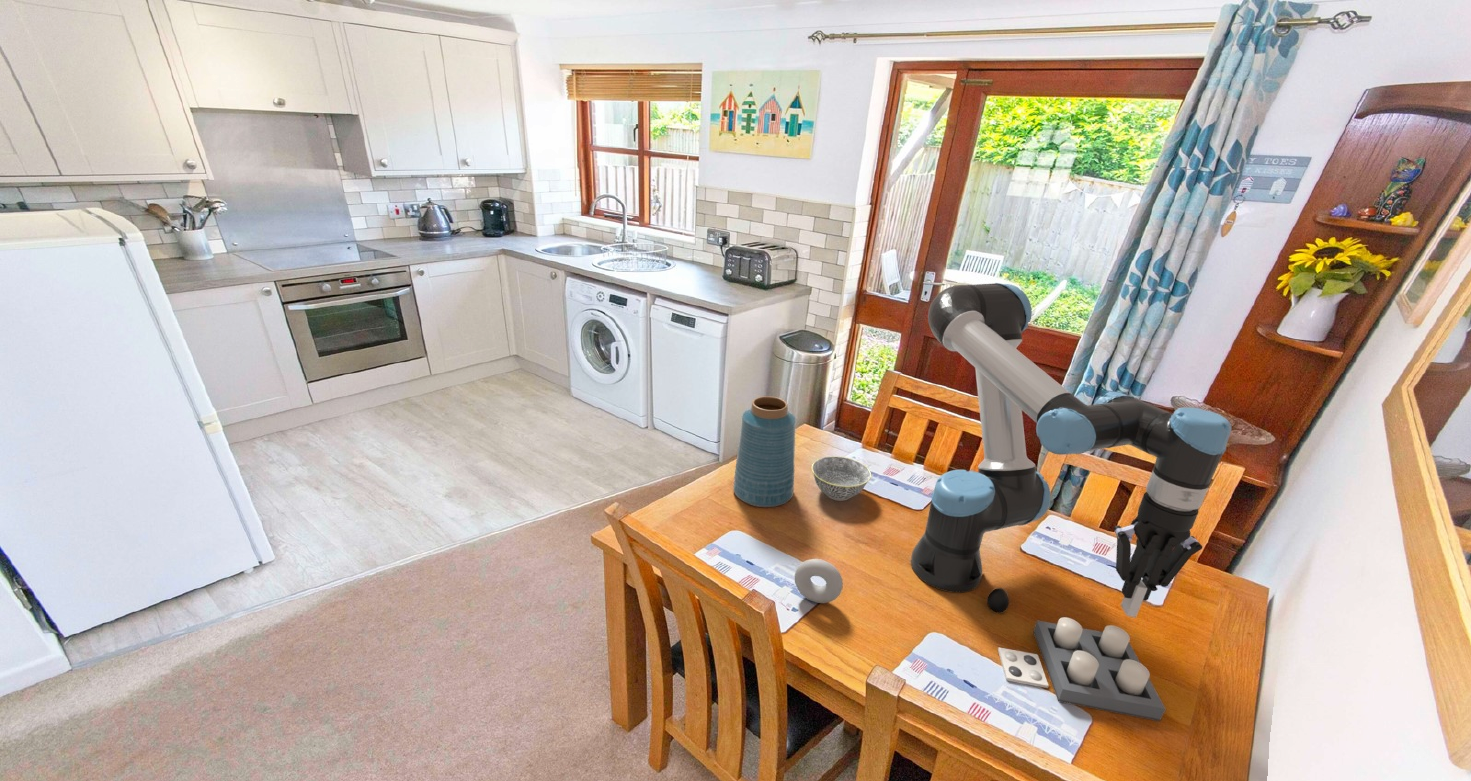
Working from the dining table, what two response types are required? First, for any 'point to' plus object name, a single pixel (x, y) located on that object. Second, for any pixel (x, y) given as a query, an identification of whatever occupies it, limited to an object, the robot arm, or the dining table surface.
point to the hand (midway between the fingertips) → (1128, 611)
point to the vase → (766, 454)
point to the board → (1104, 685)
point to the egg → (998, 600)
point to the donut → (824, 571)
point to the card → (1022, 667)
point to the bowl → (840, 476)
